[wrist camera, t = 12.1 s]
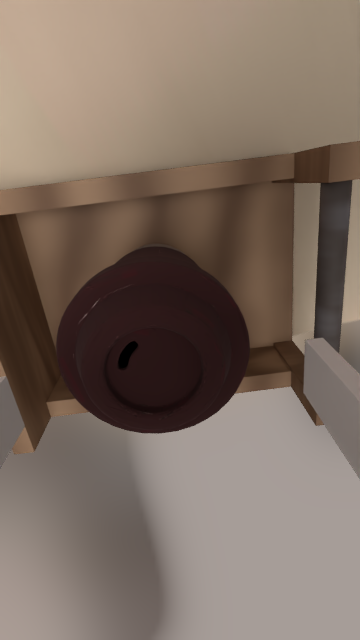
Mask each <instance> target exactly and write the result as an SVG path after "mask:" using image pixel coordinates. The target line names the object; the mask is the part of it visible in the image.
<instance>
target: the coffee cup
mask: <svg viewBox="0 0 360 640" xmlns="http://www.w3.org/2000/svg"><path fill="white" fill-rule="evenodd" d="M249 354H250V341H249V333H248V329H247V326H246V323H245V320H244V317H243V315H242V313H241V311H240V309H239V307H238V305H237V304H236V302H235V300H234V299H233V297H232V296H231V295H230V293H229V292H228V291H227V289H226V288H225V287H224V286H223V285H222V284H221V283H220V282H219V281H218V280H217V279H216V278H214V277H213V276H212V275H210V274H209V273H208V272H206V271H205V270H203V269H201V268H200V267H199V266H198V265H197V264H196V263H195V262H194V261H193V260H192V259H191V258H189V257H188V256H187V255H185V254H184V253H183V252H181V251H180V250H178V249H176V248H174V247H172V246H169V245H164V244H149V245H145V246H141V247H139V248H137V249H135V250H134V251H132V252H130V253H128V254H127V255H125V256H124V257H122V258H121V259H120V260H119V261H117V262H116V263H115V264H114V265H111V266H109V267H107V268H105V269H104V270H102V271H100V272H99V273H97V274H96V275H95V276H93V277H92V278H91V279H89V280H88V281H87V282H86V283H85V284H84V285H83V286H82V287H81V289H80V290H79V291H78V293H77V294H76V295H75V296H74V298H73V299H72V301H71V302H70V303H69V305H68V306H67V308H66V310H65V312H64V314H63V316H62V318H61V321H60V324H59V327H58V332H57V341H56V355H57V361H58V366H59V370H60V373H61V376H62V378H63V380H64V382H65V384H66V386H67V388H68V389H69V391H70V392H71V394H72V395H73V396H74V398H75V399H76V400H77V401H78V402H79V403H80V404H81V405H82V406H83V407H84V408H85V409H86V410H88V411H89V412H90V413H92V414H93V415H95V416H96V417H97V418H99V419H101V420H102V421H104V422H107V423H109V424H111V425H113V426H115V427H118V428H121V429H124V430H129V431H134V432H139V433H166V432H173V431H178V430H182V429H185V428H188V427H191V426H194V425H196V424H198V423H200V422H202V421H204V420H206V419H208V418H209V417H210V416H212V415H213V414H215V413H217V412H218V411H219V410H220V409H221V408H222V407H223V406H224V405H225V404H226V403H227V402H228V401H229V400H230V399H231V397H232V396H233V395H234V394H235V392H236V391H237V389H238V388H239V386H240V384H241V382H242V380H243V378H244V376H245V373H246V369H247V365H248V361H249Z"/></svg>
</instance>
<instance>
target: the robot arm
mask: <svg viewBox="0 0 360 640" xmlns="http://www.w3.org/2000/svg"><path fill="white" fill-rule="evenodd" d="M303 393H304V394H305V396H306V397H307V399H308V400H309V402H310V404H311V405H312V407H313V408H314V410H315V411H316V413H317V414H318V416H319V417H320V419H321V420H322V422H323V423H324V425H325V427H326V428H327V430H328V431H329V433H330V434H331V436H332V437H333V439H334V440H335V442H336V443H337V445H338V446H339V448H340V450H341V451H342V453H343V454H344V456H345V457H346V459H347V460H348V462H349V463H350V465H351V466H352V468H353V469H354V471H355V473H356V474H357V476H358V477H359V478H360V374H359V373H358V372H357V371H356V370H355V369H354V368H353V367H352V366H351V365H350V364H349V363H348V362H347V361H346V360H345V359H344V358H343V357H342V356H340V354H339V353H338V352H337V351H336V350H335V349H334V348H333V347H332V346H331V345H330V344H329V343H328V342H327V341H326V340H325V339H324V338H316V339H307V340H305V358H304V388H303ZM24 427H25V425H24V422H23V420H22V417H21V414H20V412H19V409H18V406H17V404H16V401H15V398H14V396H13V393H12V390H11V387H10V385H9V382H8V379H7V377H6V376H4V377H0V468H1V467H2V465H3V463H4V462H5V460H6V458H7V456H8V455H9V453H10V451H11V449H12V448H13V446H14V444H15V442H16V441H17V439H18V437H19V436H20V434H21V432H22V430H23V429H24Z"/></svg>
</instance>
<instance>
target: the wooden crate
mask: <svg viewBox="0 0 360 640" xmlns="http://www.w3.org/2000/svg"><path fill="white" fill-rule="evenodd" d="M355 179H360V141H357V142H349V143H341V144H333V145H328V146H323V147H319V148H314V149H310V150H306V151H301V152H297V153H291V154H283V155H275V156H267V157H259V158H252V159H244V160H236V161H228V162H220V163H212V164H204V165H196V166H188V167H180V168H173V169H165V170H157V171H149V172H141V173H133V174H125V175H117V176H109V177H101V178H94V179H86V180H78V181H70V182H62V183H54V184H46V185H38V186H30V187H23V188H15V189H7V190H0V377H4V376H6V377H7V379H8V382H9V385H10V387H11V390H12V393H13V396H14V398H15V401H16V404H17V406H18V409H19V412H20V414H21V417H22V420H23V422H24V425H25V427H24V429H23V430H22V432H21V434H20V436H19V437H18V439H17V441H16V442H15V444H14V446H13V448H12V450H13V452H14V454H21V453H29V452H34V451H35V449H36V447H37V445H38V443H39V441H40V439H41V437H42V435H43V433H44V431H45V428H46V426H47V424H48V422H49V420H50V418H51V417H53V416H61V415H70V414H77V413H85V412H89V411H88V410H86V409H85V408H84V407H83V406H82V405H81V404H80V403H79V402H78V401H77V400H76V399H75V398H74V396H73V395H72V394H71V392H70V391H69V389H68V388H67V386H66V384H65V382H64V380H63V378H62V376H61V373H60V370H59V366H58V361H57V355H56V341H57V332H58V327H59V324H60V321H61V318H62V316H63V314H64V312H65V310H66V308H67V306H68V305H69V303H70V302H71V301H72V299H73V298H74V296H75V295H76V294H77V293H78V291H79V290H80V289H81V287H82V286H83V285H84V284H85V283H86V282H87V281H88V280H89V279H91V278H92V277H93V276H95V275H96V274H97V273H99V272H100V271H102V270H104V269H105V268H107V267H109V266H111V265H114V264H115V263H116V262H117V261H119V260H120V259H121V258H122V257H124V256H125V255H127V254H128V253H130V252H132V251H134V250H135V249H137V248H139V247H141V246H145V245H149V244H164V245H169V246H172V247H174V248H176V249H178V250H180V251H181V252H183V253H184V254H185V255H187V256H188V257H189V258H191V259H192V260H193V261H194V262H195V263H196V264H197V265H198V266H199V267H200V268H201V269H203V270H205V271H206V272H208V273H209V274H210V275H212V276H213V277H214V278H216V279H217V280H218V281H219V282H220V283H221V284H222V285H223V286H224V287H225V288H226V289H227V291H228V292H229V293H230V295H231V296H232V297H233V299H234V300H235V302H236V304H237V305H238V307H239V309H240V311H241V313H242V315H243V317H244V320H245V323H246V326H247V329H248V333H249V341H250V354H249V361H248V365H247V369H246V373H245V376H244V378H243V380H242V382H241V384H240V386H239V388H238V389H237V391H236V392H235V393H243V392H249V391H250V392H251V391H258V390H266V389H274V388H282V387H289V386H291V387H292V389H293V390H294V392H295V393H296V395H297V397H298V398H299V400H300V401H301V403H302V404H303V406H304V408H305V409H306V411H307V412H308V414H309V415H310V417H311V419H312V420H313V422H314V423H315V425H316V426H317V425H324V423H323V422H322V420H321V419H320V417H319V416H318V414H317V413H316V411H315V410H314V408H313V407H312V405H311V404H310V402H309V400H308V399H307V397H306V396H305V394H304V393H303V388H304V358H305V356H304V355H303V353H302V352H301V351H300V350H299V348H298V347H297V346H296V345H295V343H294V342H293V341H292V305H293V238H294V183H321V188H320V212H319V235H318V258H317V281H316V304H315V327H314V339H316V338H324V339H325V340H326V341H327V342H328V343H329V344H330V345H331V346H332V347H333V348H334V349H335V350H336V351H337V352H338V353H339V347H340V334H341V321H342V308H343V295H344V282H345V269H346V256H347V243H348V230H349V218H350V205H351V192H352V180H355Z"/></svg>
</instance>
